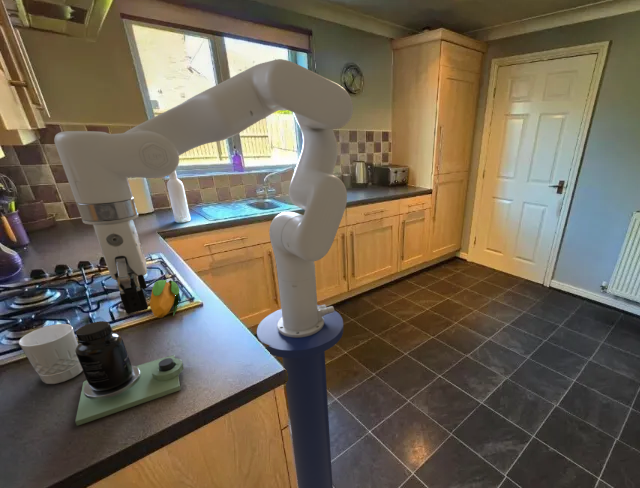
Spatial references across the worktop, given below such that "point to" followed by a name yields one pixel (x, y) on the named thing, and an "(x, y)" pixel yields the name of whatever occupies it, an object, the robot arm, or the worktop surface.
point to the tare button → (166, 364)
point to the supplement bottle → (102, 356)
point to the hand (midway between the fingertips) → (137, 299)
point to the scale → (133, 391)
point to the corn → (164, 298)
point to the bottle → (178, 199)
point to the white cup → (52, 352)
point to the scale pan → (115, 391)
